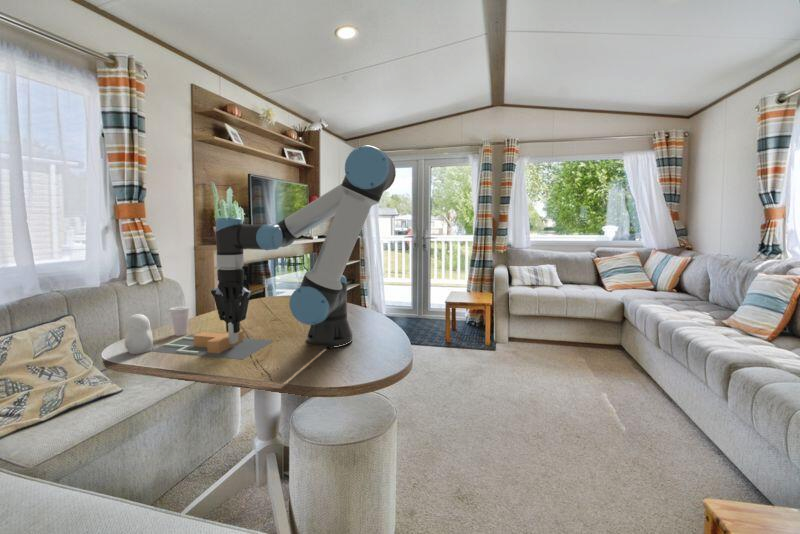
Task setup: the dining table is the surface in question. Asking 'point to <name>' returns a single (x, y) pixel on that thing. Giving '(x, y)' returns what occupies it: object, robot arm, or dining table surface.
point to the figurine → (138, 334)
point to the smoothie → (180, 318)
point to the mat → (234, 352)
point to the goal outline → (182, 346)
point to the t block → (215, 341)
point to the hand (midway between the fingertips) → (233, 342)
